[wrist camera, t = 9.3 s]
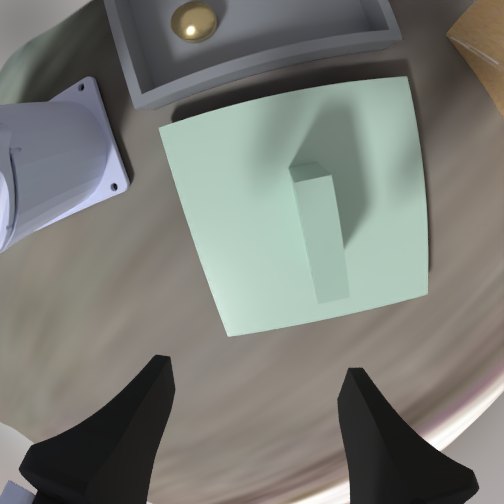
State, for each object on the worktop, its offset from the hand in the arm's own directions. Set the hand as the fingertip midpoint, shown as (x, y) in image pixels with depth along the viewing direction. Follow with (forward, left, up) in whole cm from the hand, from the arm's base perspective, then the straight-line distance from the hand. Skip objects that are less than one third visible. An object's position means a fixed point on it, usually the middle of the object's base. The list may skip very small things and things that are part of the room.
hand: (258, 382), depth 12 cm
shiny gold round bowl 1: (+1, +16, -9) cm, 18 cm away
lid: (+4, +3, -9) cm, 10 cm away
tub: (+4, +19, -9) cm, 21 cm away
